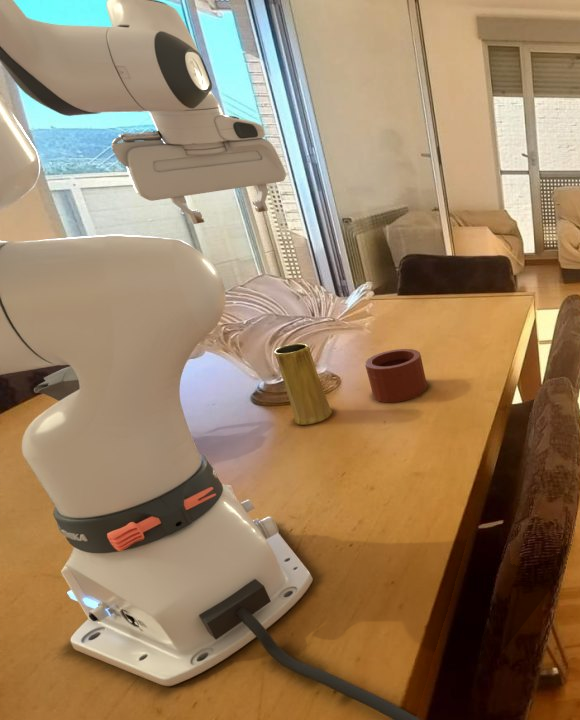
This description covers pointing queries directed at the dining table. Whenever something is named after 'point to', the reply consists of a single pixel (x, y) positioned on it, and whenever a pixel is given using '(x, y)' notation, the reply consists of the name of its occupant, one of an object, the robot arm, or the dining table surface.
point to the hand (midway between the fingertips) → (231, 216)
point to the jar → (396, 375)
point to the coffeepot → (59, 384)
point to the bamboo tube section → (302, 384)
